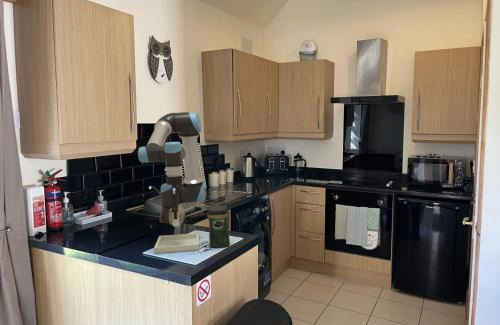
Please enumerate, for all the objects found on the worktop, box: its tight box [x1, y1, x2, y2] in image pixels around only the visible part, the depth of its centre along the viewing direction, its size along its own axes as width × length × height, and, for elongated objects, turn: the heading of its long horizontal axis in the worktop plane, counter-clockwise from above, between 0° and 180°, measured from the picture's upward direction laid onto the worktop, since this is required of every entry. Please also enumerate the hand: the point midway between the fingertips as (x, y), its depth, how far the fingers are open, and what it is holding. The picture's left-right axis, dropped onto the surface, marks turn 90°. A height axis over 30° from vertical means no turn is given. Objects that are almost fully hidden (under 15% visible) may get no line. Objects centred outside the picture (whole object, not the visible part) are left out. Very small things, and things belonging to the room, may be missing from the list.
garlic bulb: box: [169, 203, 186, 226], centre depth 178 cm, size 9×8×10 cm
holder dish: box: [153, 232, 200, 255], centre depth 179 cm, size 19×19×3 cm
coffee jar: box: [206, 205, 231, 248], centre depth 177 cm, size 10×8×19 cm
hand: (177, 223), depth 179 cm, fingers closed on garlic bulb, 9 cm apart
